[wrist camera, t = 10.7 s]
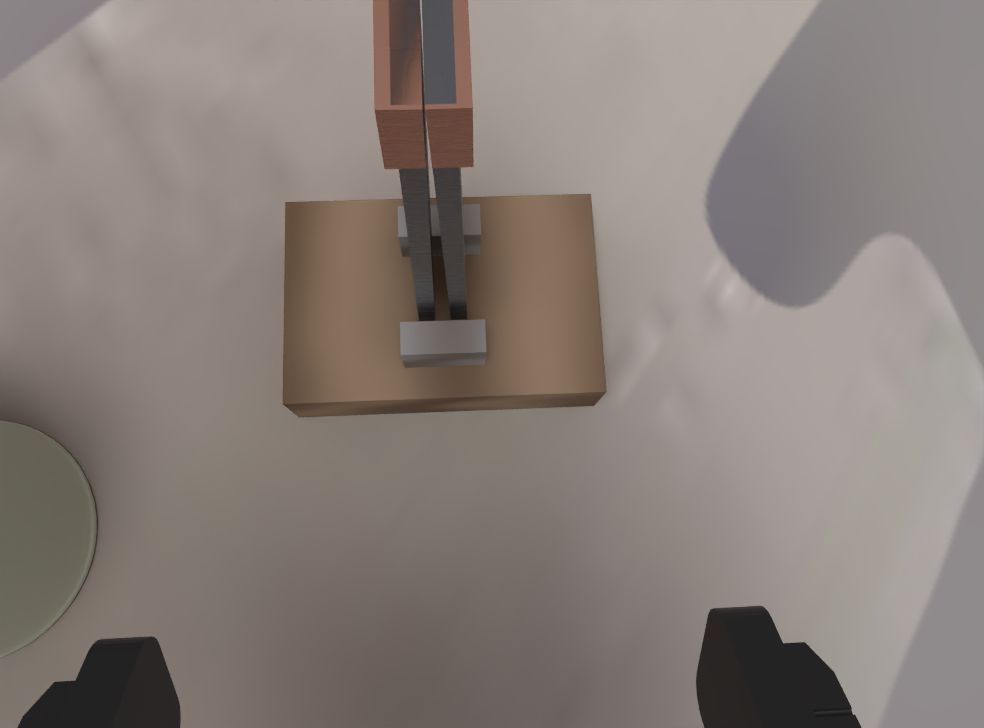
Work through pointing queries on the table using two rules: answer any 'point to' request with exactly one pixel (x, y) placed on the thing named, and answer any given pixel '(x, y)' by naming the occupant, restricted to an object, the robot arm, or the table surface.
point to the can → (40, 533)
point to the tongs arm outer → (449, 130)
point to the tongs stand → (441, 310)
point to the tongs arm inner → (406, 130)
